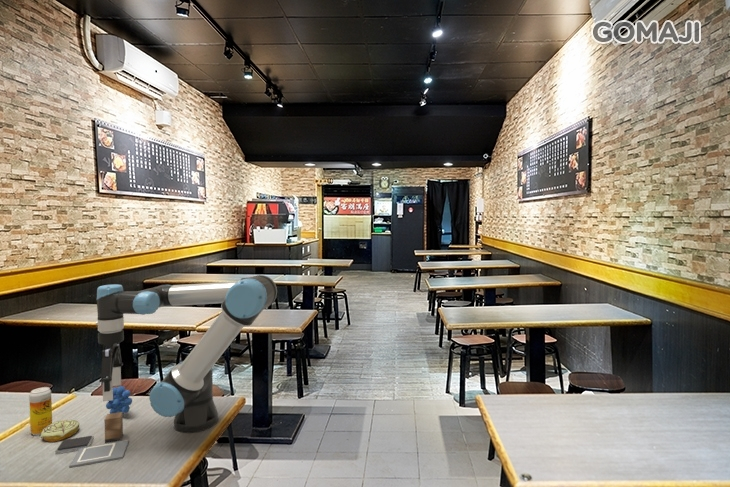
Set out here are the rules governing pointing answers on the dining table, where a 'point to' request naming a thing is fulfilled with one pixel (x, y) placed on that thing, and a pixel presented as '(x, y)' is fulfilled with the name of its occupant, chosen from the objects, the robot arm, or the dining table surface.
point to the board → (99, 453)
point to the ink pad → (74, 444)
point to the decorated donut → (60, 430)
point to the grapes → (119, 401)
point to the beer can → (40, 409)
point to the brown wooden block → (113, 427)
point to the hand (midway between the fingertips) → (112, 392)
